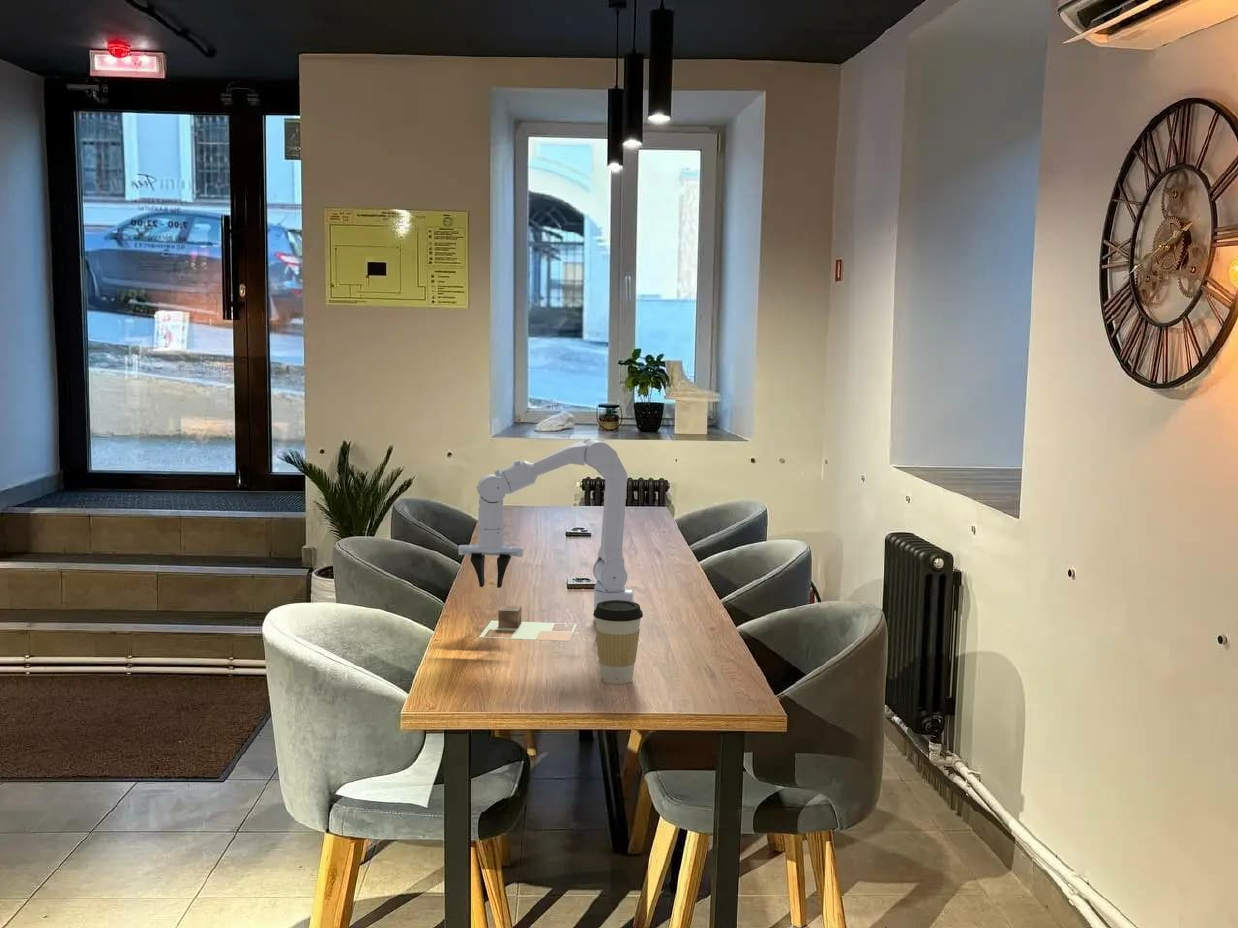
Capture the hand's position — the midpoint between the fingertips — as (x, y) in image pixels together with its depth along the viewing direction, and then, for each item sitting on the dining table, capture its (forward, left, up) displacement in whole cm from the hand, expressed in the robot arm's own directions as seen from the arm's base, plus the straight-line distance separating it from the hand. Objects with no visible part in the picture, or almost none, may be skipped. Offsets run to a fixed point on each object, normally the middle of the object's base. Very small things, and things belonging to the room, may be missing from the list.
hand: (490, 586), depth 241 cm
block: (-4, 0, -9) cm, 10 cm away
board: (-9, +3, -10) cm, 15 cm away
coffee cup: (-31, +30, -11) cm, 45 cm away
